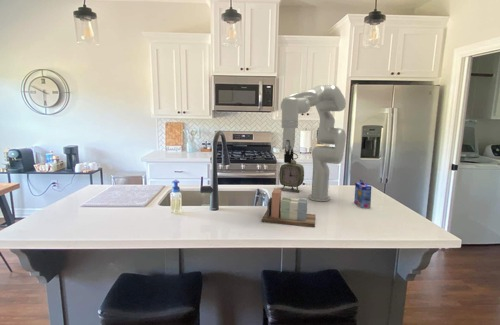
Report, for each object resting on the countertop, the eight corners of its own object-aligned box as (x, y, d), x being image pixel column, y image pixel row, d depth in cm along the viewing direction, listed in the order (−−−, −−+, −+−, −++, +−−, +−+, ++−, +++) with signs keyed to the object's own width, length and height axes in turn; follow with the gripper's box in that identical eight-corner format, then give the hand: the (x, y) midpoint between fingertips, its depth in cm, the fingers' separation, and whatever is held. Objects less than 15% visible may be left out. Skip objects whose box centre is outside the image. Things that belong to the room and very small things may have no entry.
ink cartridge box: (353, 202, 169) (355, 178, 167) (362, 202, 170) (364, 178, 167) (360, 208, 160) (362, 182, 157) (370, 208, 160) (372, 182, 158)
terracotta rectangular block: (273, 212, 145) (274, 188, 143) (280, 213, 145) (281, 189, 143) (271, 217, 139) (271, 192, 137) (278, 217, 138) (279, 193, 136)
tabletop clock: (278, 190, 194) (280, 152, 190) (283, 187, 202) (285, 151, 198) (299, 193, 188) (301, 154, 184) (304, 190, 195) (306, 152, 191)
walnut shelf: (266, 213, 149) (267, 193, 147) (315, 217, 144) (316, 197, 142) (261, 221, 136) (262, 201, 135) (314, 227, 131) (315, 205, 130)
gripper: (284, 123, 146) (283, 157, 150) (278, 125, 130) (278, 163, 133) (299, 123, 145) (298, 158, 148) (296, 126, 128) (295, 164, 131)
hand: (288, 160), depth 140 cm, fingers open, 9 cm apart
